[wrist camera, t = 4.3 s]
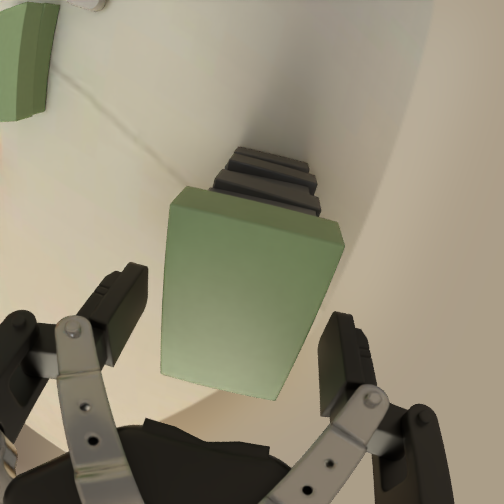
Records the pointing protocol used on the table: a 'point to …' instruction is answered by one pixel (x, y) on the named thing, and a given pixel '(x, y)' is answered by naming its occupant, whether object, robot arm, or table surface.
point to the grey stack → (269, 181)
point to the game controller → (88, 4)
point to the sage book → (241, 290)
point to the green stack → (25, 58)
